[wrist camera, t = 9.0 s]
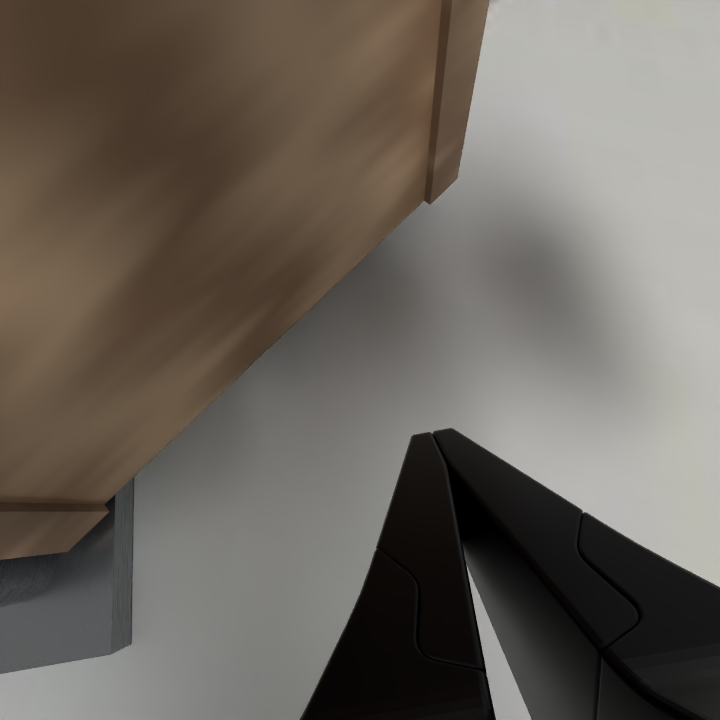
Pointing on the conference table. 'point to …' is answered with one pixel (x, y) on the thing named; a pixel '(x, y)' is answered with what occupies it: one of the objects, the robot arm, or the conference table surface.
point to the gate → (191, 209)
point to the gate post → (70, 596)
